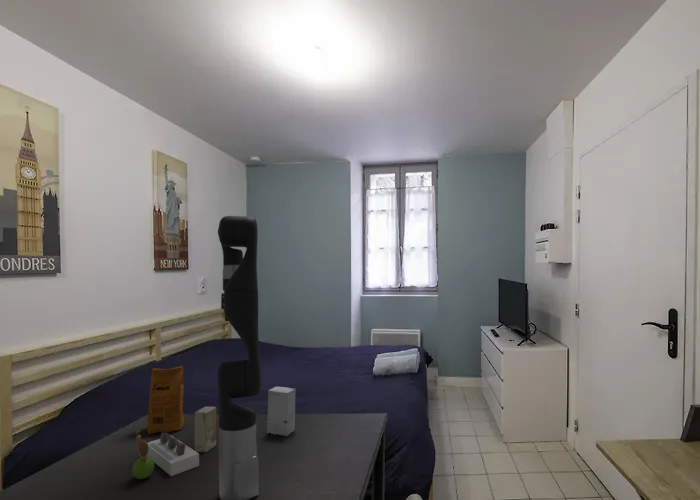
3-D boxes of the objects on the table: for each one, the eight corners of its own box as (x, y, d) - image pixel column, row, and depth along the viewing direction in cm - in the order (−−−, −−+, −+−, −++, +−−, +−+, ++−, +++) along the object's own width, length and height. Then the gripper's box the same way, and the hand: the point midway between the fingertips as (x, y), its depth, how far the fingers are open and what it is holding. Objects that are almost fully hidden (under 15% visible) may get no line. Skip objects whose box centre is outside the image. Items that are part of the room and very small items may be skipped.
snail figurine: (147, 470, 116) (147, 427, 117) (157, 477, 112) (157, 432, 113) (127, 477, 112) (127, 433, 112) (137, 485, 108) (137, 439, 108)
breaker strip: (199, 465, 118) (198, 453, 118) (171, 476, 112) (171, 462, 112) (158, 437, 139) (158, 426, 139) (133, 445, 133) (133, 433, 134)
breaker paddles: (183, 453, 118) (185, 444, 118) (178, 454, 117) (180, 445, 117) (164, 440, 128) (166, 432, 128) (159, 441, 126) (161, 432, 127)
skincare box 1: (206, 453, 126) (206, 413, 127) (194, 452, 127) (193, 412, 128) (217, 444, 133) (216, 406, 133) (205, 443, 133) (205, 405, 134)
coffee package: (151, 425, 151) (151, 365, 152) (187, 422, 153) (186, 363, 154) (143, 435, 141) (143, 371, 142) (181, 432, 143) (180, 369, 145)
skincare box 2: (266, 433, 140) (266, 390, 141) (275, 427, 146) (275, 385, 146) (288, 436, 137) (287, 392, 138) (296, 429, 143) (295, 387, 144)
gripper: (252, 277, 147) (253, 322, 146) (232, 277, 157) (233, 319, 156) (234, 277, 141) (234, 324, 140) (214, 277, 151) (214, 321, 150)
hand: (233, 321), depth 148 cm, fingers open, 8 cm apart
